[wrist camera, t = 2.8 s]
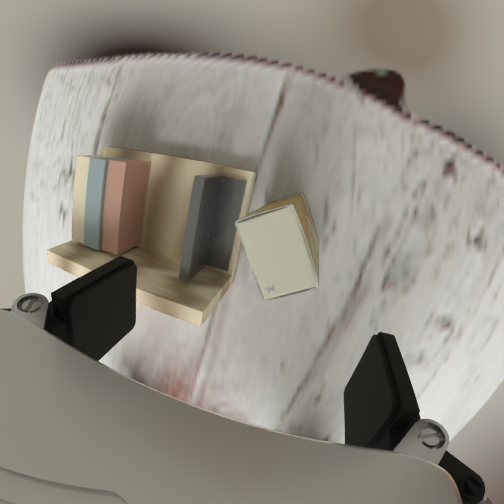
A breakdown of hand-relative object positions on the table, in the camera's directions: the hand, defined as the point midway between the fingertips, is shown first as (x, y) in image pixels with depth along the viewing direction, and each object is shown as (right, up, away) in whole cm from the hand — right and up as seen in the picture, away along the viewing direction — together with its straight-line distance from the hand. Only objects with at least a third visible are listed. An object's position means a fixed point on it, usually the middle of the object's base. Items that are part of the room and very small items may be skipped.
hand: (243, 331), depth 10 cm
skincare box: (+5, +6, +21) cm, 22 cm away
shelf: (-10, +8, +23) cm, 27 cm away
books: (-16, +9, +22) cm, 29 cm away
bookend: (-3, +6, +21) cm, 22 cm away
